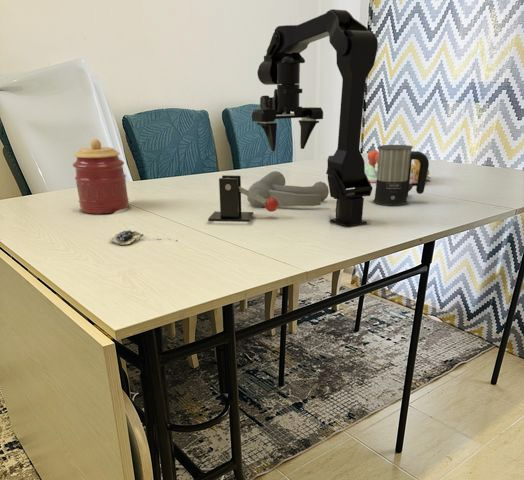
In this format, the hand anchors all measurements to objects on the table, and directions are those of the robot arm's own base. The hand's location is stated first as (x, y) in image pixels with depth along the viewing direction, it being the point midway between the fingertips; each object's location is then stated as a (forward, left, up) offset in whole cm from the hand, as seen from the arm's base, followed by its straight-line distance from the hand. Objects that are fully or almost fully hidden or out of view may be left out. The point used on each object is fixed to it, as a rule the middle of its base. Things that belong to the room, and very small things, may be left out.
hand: (287, 150), depth 137 cm
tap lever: (-12, +18, -9) cm, 24 cm away
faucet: (+1, -2, -14) cm, 14 cm away
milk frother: (-11, -29, -14) cm, 34 cm away
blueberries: (-17, +50, -11) cm, 54 cm away
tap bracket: (-9, +22, -14) cm, 28 cm away
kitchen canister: (+19, +46, -14) cm, 52 cm away
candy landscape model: (+14, -51, -14) cm, 55 cm away
